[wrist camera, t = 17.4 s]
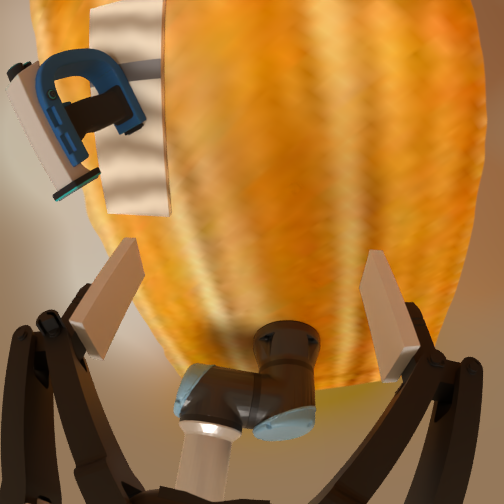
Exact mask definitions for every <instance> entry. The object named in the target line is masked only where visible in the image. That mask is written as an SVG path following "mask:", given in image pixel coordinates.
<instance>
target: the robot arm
mask: <svg viewBox="0 0 504 504" xmlns="http://www.w3.org/2000/svg"><path fill="white" fill-rule="evenodd" d="M144 276H145V274H144V270H143V266H142V262H141V258H140V254H139V250H138V245H137V241H136V238H124V239H123V240H122V242H121V243H120V244H119V246H118V247H117V248H116V250H115V251H114V253H113V254H112V255H111V257H110V258H109V260H108V261H107V263H106V264H105V266H104V267H103V268H102V270H101V271H100V273H99V274H98V276H97V277H96V279H95V280H94V282H93V283H92V284H89V283H87V284H86V285H85V286H83V287H82V288H81V289H80V290H79V292H78V293H77V295H76V297H75V298H74V299H73V301H72V303H71V304H70V305H69V307H68V308H67V310H66V312H65V313H64V315H63V316H62V318H60V316H59V314H58V312H57V311H55V310H47V311H45V312H43V313H42V314H41V315H39V317H38V319H37V321H36V326H37V327H38V329H39V330H40V332H33V330H32V329H31V327H30V326H28V325H24V326H21V327H19V328H18V329H17V330H16V331H15V332H14V334H13V337H12V341H11V347H10V352H9V358H8V364H7V370H6V377H5V385H4V395H3V405H2V406H3V407H2V421H1V467H2V483H1V488H0V504H62V498H61V488H60V481H59V474H58V466H57V458H56V447H55V433H54V409H53V407H54V406H53V392H54V396H55V400H56V404H57V408H58V412H59V415H60V419H61V422H62V425H63V429H64V432H65V435H66V438H67V441H68V444H69V447H70V450H71V453H72V455H73V458H74V461H75V464H76V468H75V469H74V476H75V479H76V481H77V484H78V486H79V489H80V491H81V493H82V495H83V497H84V499H85V502H86V504H270V501H268V500H249V499H239V500H230V501H224V495H225V488H226V481H227V474H228V467H229V459H230V452H231V446H232V442H233V441H235V440H236V439H238V438H239V437H240V436H241V433H242V428H247V429H253V434H254V436H255V437H256V438H258V439H262V440H266V441H282V440H289V439H293V438H297V437H300V436H302V435H305V434H307V433H308V432H309V431H311V430H312V428H313V427H314V424H315V412H316V407H315V387H314V366H315V363H316V360H317V357H318V354H319V350H320V338H319V335H318V333H317V332H316V330H315V329H313V328H312V327H311V326H309V325H307V324H304V323H301V322H296V321H279V322H274V323H271V324H268V325H266V326H264V327H262V328H261V329H260V330H258V332H257V333H256V334H255V336H254V343H253V350H254V354H255V357H256V360H257V364H258V367H259V373H253V372H247V371H241V370H235V369H230V368H224V367H219V366H216V365H206V364H199V363H196V364H193V365H191V366H190V367H189V368H188V369H187V371H186V373H185V375H184V377H183V379H182V381H181V384H180V387H179V389H178V392H177V398H176V401H175V404H174V414H175V415H176V416H177V417H180V421H179V426H180V427H181V429H182V430H183V431H184V433H185V438H184V444H183V449H182V454H181V459H180V464H179V470H178V475H177V480H176V485H175V489H172V488H167V487H163V486H160V488H159V489H155V490H149V491H145V489H144V487H143V486H142V484H141V483H140V481H139V480H138V479H137V478H136V477H135V475H134V474H133V472H132V471H131V469H130V467H129V465H128V463H127V461H126V459H125V457H124V455H123V453H122V451H121V449H120V447H119V445H118V443H117V441H116V438H115V436H114V434H113V432H112V429H111V427H110V425H109V422H108V420H107V417H106V415H105V413H104V410H103V408H102V405H101V402H100V400H99V398H98V395H97V392H96V389H95V386H94V383H93V381H92V378H91V375H90V372H89V368H88V365H87V363H86V360H85V358H84V354H85V352H86V351H87V352H88V354H89V356H90V357H91V358H94V359H98V360H102V361H103V360H104V358H105V355H106V353H107V351H108V349H109V346H110V345H111V342H112V340H113V338H114V336H115V334H116V332H117V330H118V328H119V326H120V323H121V321H122V319H123V317H124V315H125V313H126V311H127V309H128V307H129V305H130V303H131V301H132V299H133V297H134V295H135V293H136V292H137V290H138V288H139V286H140V284H141V282H142V280H143V278H144ZM359 289H360V292H361V296H362V300H363V304H364V307H365V311H366V315H367V319H368V323H369V327H370V331H371V335H372V339H373V343H374V348H375V352H376V357H377V361H378V366H379V371H380V376H381V381H382V383H388V382H397V380H398V379H399V378H400V376H401V375H402V379H403V383H402V384H401V386H400V387H399V388H398V390H397V391H396V392H395V393H396V394H395V395H394V397H393V399H392V400H391V402H390V403H389V405H388V406H387V408H386V409H385V411H384V412H383V414H382V416H381V417H380V418H379V420H378V421H377V423H376V424H375V425H374V427H373V428H372V430H371V431H370V432H369V434H368V435H367V436H366V438H365V439H364V441H363V442H362V443H361V445H360V446H359V447H358V449H357V450H356V451H355V452H354V453H353V455H352V456H351V457H350V459H349V460H348V461H347V462H346V463H345V465H344V466H343V467H342V468H341V469H340V470H339V472H338V473H337V474H336V475H335V476H334V478H333V479H332V480H331V481H330V482H329V483H328V484H327V485H326V486H325V487H324V488H323V490H322V491H321V492H320V493H319V494H318V495H317V496H316V497H315V498H314V499H312V500H311V501H310V502H309V503H308V504H367V502H368V501H369V499H370V498H371V497H372V496H373V494H374V493H375V492H376V490H377V489H378V488H379V486H380V485H381V484H382V482H383V481H384V479H385V478H386V477H387V475H388V474H389V472H390V471H391V469H392V468H393V466H394V465H395V463H396V461H397V460H398V458H399V457H400V456H401V454H402V452H403V451H404V449H405V447H406V446H407V444H408V443H409V441H410V439H411V437H412V436H413V434H414V432H415V430H416V429H417V427H418V425H419V423H420V421H421V420H422V418H423V416H424V414H425V412H426V410H427V408H428V406H429V404H430V402H431V400H434V406H433V410H432V415H431V419H430V423H429V427H428V432H427V435H426V439H425V443H424V446H423V450H422V453H421V457H420V460H419V463H418V466H417V469H416V473H415V475H414V478H413V481H412V484H411V487H410V489H409V492H408V495H407V497H406V500H405V502H404V504H463V500H464V497H465V493H466V490H467V486H468V482H469V478H470V474H471V469H472V464H473V460H474V455H475V448H476V443H477V437H478V430H479V422H480V413H481V403H482V388H483V368H482V365H481V363H480V362H479V361H478V360H477V359H475V358H473V357H466V358H464V360H463V361H462V362H461V363H459V362H454V361H450V360H446V357H445V356H444V354H443V353H442V352H440V351H439V350H436V349H435V347H434V344H433V342H432V339H431V336H430V334H429V331H428V329H427V326H426V323H425V321H424V319H423V316H422V314H421V311H420V309H419V308H418V307H417V306H416V305H415V304H414V302H404V300H403V297H402V295H401V292H400V290H399V287H398V285H397V283H396V280H395V278H394V276H393V273H392V271H391V269H390V266H389V264H388V262H387V260H386V257H385V255H384V253H383V251H382V250H370V251H369V255H368V259H367V262H366V266H365V269H364V273H363V276H362V280H361V283H360V286H359Z"/></svg>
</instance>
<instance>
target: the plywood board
mask: <svg viewBox="0 0 504 504" xmlns="http://www.w3.org/2000/svg"><path fill="white" fill-rule="evenodd" d="M165 7H166V0H122V1H118V2H114V3H110V4H106V5H103V6H99V7H96V8H93V9H90V32H89V49H97V50H100V51H102V52H104V53H106V54H107V55H109V56H110V57H111V58H112V59H114V60H115V62H116V63H117V64H118V65H119V66H120V68H121V69H122V70H123V72H124V74H125V76H126V78H127V80H128V82H129V84H130V86H131V88H132V90H133V92H134V94H135V96H136V98H137V100H138V102H139V104H140V106H141V108H142V110H143V112H144V114H145V116H146V120H145V121H144V122H143V124H144V126H143V127H142V128H141V129H139V130H138V131H136V132H134V133H132V134H130V135H126V136H125V134H124V133H123V134H121V135H119V133H118V131H117V129H116V128H115V126H114V124H112V125H110V126H108V127H106V128H104V129H102V130H99V131H97V132H95V140H96V148H97V155H98V162H99V169H100V171H101V174H100V175H101V181H102V186H103V192H104V197H105V202H106V207H107V212H108V213H109V214H129V215H147V216H164V217H170V215H171V203H170V192H169V179H168V166H167V151H166V132H165V106H164V31H165ZM90 88H91V97H92V96H96V95H99V94H98V92H97V90H96V88H95V87H94V85H93V84H92V83H91V82H90Z"/></svg>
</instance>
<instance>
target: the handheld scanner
mask: <svg viewBox="0 0 504 504" xmlns="http://www.w3.org/2000/svg"><path fill="white" fill-rule="evenodd" d="M7 75H8V78H9V80H10V84H9V85H8V86H7V88H6V89H5V90H6V92H7V95H8V97H9V100H10V102H11V104H12V106H13V109H14V111H15V113H16V115H17V117H18V119H19V121H20V123H21V126H22V127H23V130H24V132H25V134H26V135H27V138H28V140H29V142H30V143H31V145H32V147H33V149H34V151H35V153H36V155H37V156H38V158H39V160H40V162H41V164H42V165H43V167H44V169H45V171H46V173H47V174H48V176H49V178H50V179H51V181H52V183H53V185H54V186H55V188H56V189H57V192H56V193H55V194H53V198H54V200H55V201H58V200H59V201H61V200H62V199H64V198H65V197H67V196H68V195H70V194H71V193H73V192H75V191H76V190H78V189H80V188H81V187H83V186H85V185H86V184H88V183H90V182H91V181H93V180H95V179H96V178H98V175H100V174H101V171H100V169H99V168H98V167H97V168H95V169H93V170H91V171H89V170H88V169H87V168H85V167H84V166H83V165H82V164H81V162H82V161H84V160H85V159H86V158H88V156H89V154H88V152H87V151H86V149H85V147H84V145H83V143H82V141H81V140H82V139H83V138H84V136H85V134H86V133H91V132H97V131H99V130H102V129H104V128H106V127H108V126H110V125H112V124H114V126H115V128H116V129H117V131H118V133H119V135H121V134H123V133H124V134H125V136H126V135H130V134H132V133H134V132H136V131H138V130H139V129H141V128H142V127H143V126H144V124H143V122H144V121H145V120H146V116H145V114H144V112H143V110H142V108H141V106H140V104H139V102H138V100H137V98H136V96H135V94H134V92H133V90H132V88H131V86H130V84H129V82H128V80H127V78H126V76H125V74H124V72H123V70H122V69H121V68H120V66H119V65H118V64H117V63H116V62H115V60H114V59H112V58H111V57H110V56H109V55H107V54H106V53H104V52H102V51H100V50H97V49H88V48H86V49H74V50H68V51H63V52H60V53H57V54H54V55H52V56H51V57H49V58H48V59H47V60H46V61H45V62H44V63H43V64H42V65H41V66H40V65H39V61H37V62H35V63H33V64H31V62H30V61H29V62H26V63H25V64H22V63H17V64H15V65H14V66H12V67H11V68H10V69H9V70H8V72H7ZM70 76H82V77H84V78H86V79H87V80H89V81H90V82H91V83H92V84H93V85H94V87H95V88H96V90H97V92H98V94H99V95H96V96H92V97H89V98H85V99H82V100H80V101H77V102H75V103H72V104H71V102H65V103H62V102H61V100H60V98H59V96H58V93H57V91H56V88H55V83H54V81H55V80H58V79H62V78H66V77H70Z"/></svg>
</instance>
